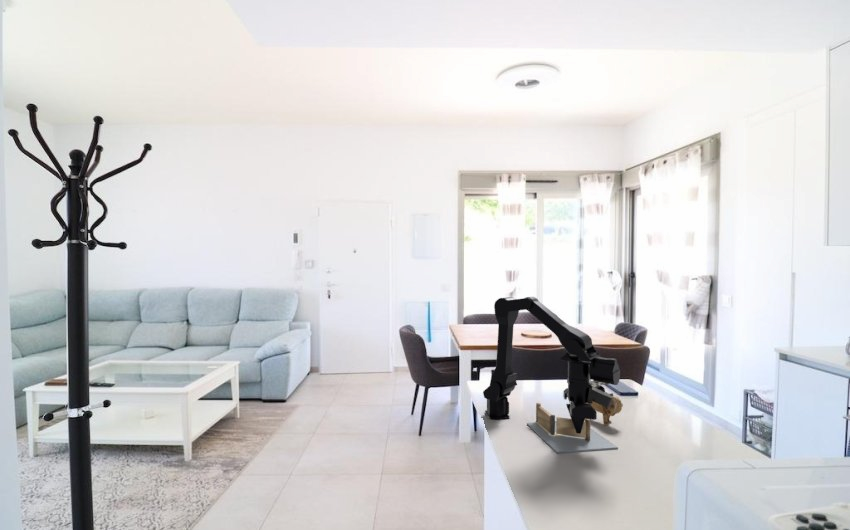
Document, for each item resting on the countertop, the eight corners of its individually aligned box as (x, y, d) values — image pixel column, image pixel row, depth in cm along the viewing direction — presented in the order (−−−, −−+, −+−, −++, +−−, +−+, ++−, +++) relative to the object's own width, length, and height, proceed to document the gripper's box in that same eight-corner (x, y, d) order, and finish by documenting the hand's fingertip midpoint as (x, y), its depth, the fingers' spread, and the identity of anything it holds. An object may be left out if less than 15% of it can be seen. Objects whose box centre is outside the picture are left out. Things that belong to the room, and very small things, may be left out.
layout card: (557, 453, 101) (557, 451, 101) (526, 423, 120) (526, 422, 120) (618, 448, 104) (618, 447, 104) (578, 420, 123) (578, 419, 123)
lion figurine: (625, 425, 120) (625, 397, 120) (617, 429, 117) (617, 400, 117) (582, 411, 132) (582, 385, 132) (573, 414, 129) (574, 387, 129)
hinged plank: (556, 435, 111) (556, 416, 111) (556, 433, 112) (556, 414, 112) (590, 440, 108) (590, 420, 108) (589, 438, 109) (590, 419, 109)
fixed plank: (551, 436, 111) (551, 416, 111) (535, 422, 122) (535, 403, 122) (555, 436, 111) (556, 415, 111) (539, 421, 122) (539, 402, 122)
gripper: (618, 389, 97) (617, 451, 97) (602, 372, 115) (601, 424, 115) (571, 385, 100) (571, 445, 99) (563, 369, 118) (563, 420, 117)
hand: (578, 433), depth 108 cm, fingers closed
